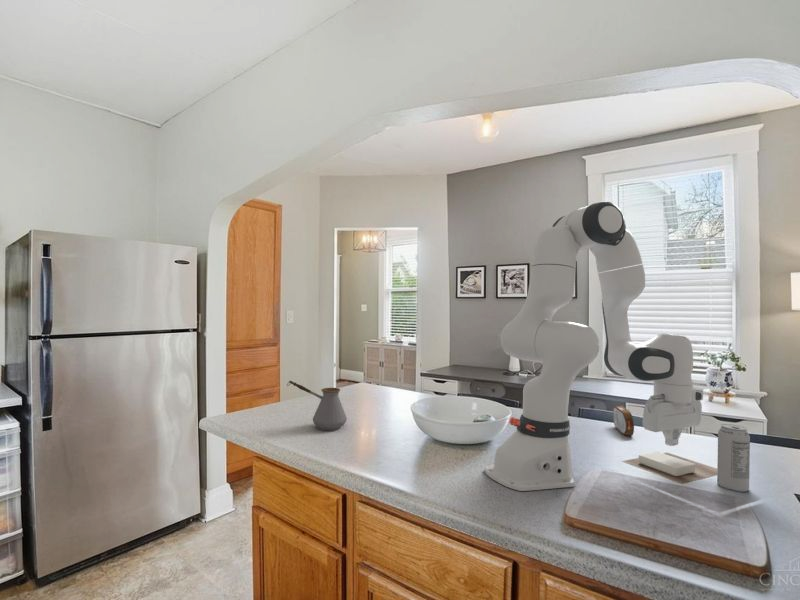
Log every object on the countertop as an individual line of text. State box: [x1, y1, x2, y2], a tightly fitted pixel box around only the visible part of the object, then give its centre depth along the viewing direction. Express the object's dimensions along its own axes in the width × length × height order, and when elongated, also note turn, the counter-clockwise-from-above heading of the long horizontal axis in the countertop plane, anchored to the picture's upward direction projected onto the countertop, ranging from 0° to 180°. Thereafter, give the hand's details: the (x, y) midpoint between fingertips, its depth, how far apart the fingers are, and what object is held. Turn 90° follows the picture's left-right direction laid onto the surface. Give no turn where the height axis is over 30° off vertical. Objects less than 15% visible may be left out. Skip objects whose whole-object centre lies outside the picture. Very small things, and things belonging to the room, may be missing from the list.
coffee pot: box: [286, 380, 348, 432], centre depth 142 cm, size 21×12×15 cm, turn 81°
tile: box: [638, 451, 695, 476], centre depth 111 cm, size 2×10×8 cm
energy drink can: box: [716, 423, 751, 493], centre depth 100 cm, size 6×6×15 cm
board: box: [621, 452, 717, 485], centre depth 113 cm, size 20×16×1 cm
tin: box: [612, 405, 635, 437], centre depth 147 cm, size 15×3×8 cm, turn 168°
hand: (671, 444), depth 112 cm, fingers closed
